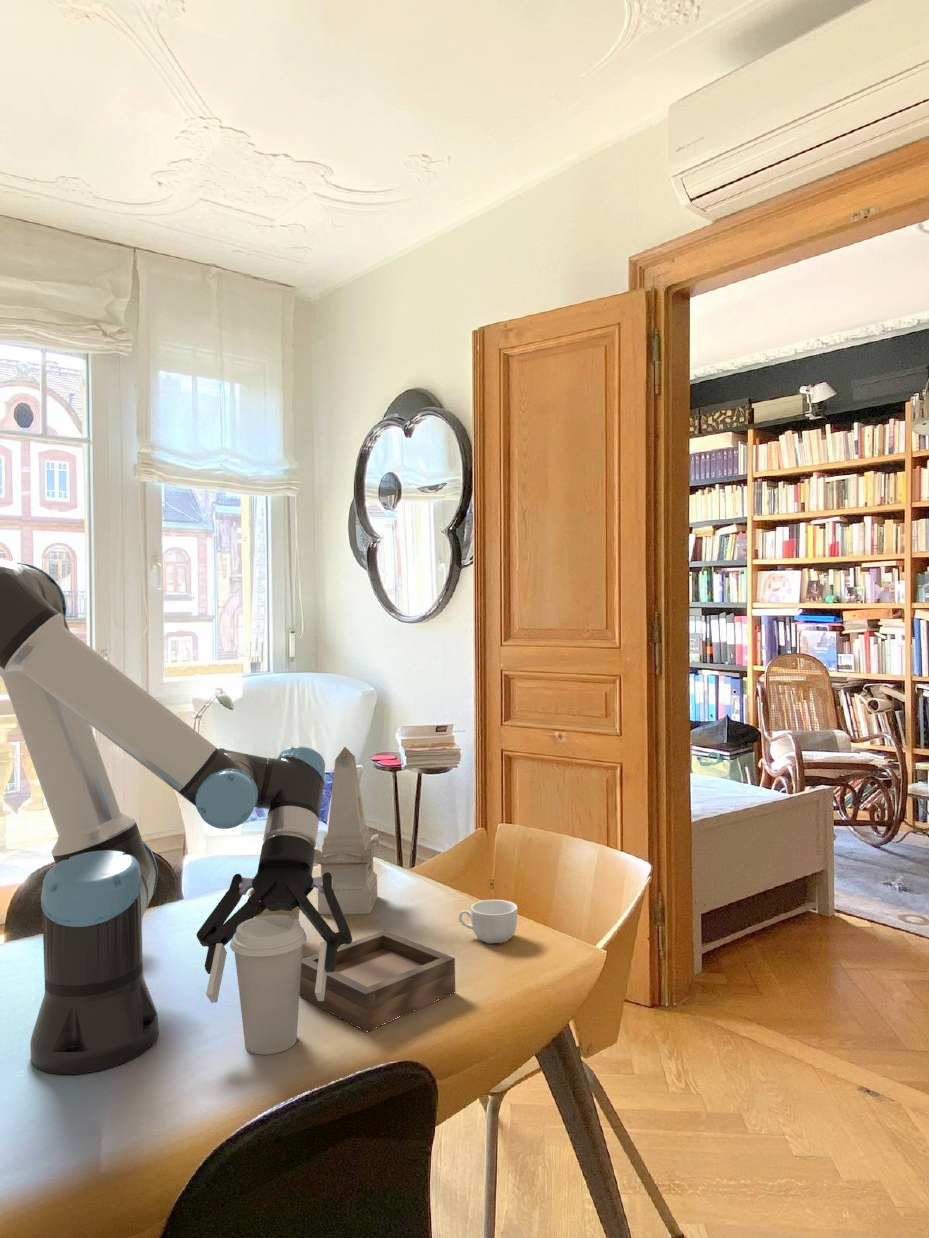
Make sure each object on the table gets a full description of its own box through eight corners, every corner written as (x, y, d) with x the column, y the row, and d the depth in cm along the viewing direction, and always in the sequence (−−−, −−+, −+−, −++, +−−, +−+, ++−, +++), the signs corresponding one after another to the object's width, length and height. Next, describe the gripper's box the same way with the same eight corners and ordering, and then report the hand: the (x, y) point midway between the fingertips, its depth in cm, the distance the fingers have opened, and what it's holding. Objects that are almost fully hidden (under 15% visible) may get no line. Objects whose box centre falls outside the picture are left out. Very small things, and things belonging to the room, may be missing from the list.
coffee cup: (315, 1051, 107) (313, 931, 107) (237, 1067, 104) (234, 944, 104) (301, 1018, 116) (298, 908, 116) (228, 1032, 113) (225, 918, 113)
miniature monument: (372, 914, 156) (368, 750, 156) (315, 915, 157) (311, 751, 156) (380, 895, 167) (376, 741, 166) (326, 896, 167) (323, 742, 167)
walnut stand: (366, 1032, 112) (365, 994, 112) (298, 995, 123) (297, 960, 123) (455, 992, 123) (454, 957, 123) (385, 961, 135) (384, 930, 135)
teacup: (522, 932, 146) (521, 900, 146) (513, 949, 138) (512, 916, 138) (465, 928, 148) (464, 897, 148) (453, 944, 141) (452, 912, 141)
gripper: (378, 857, 125) (367, 1007, 110) (208, 860, 126) (174, 1010, 111) (373, 830, 120) (360, 984, 105) (195, 833, 120) (158, 987, 105)
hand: (265, 997), depth 108 cm, fingers open, 13 cm apart
